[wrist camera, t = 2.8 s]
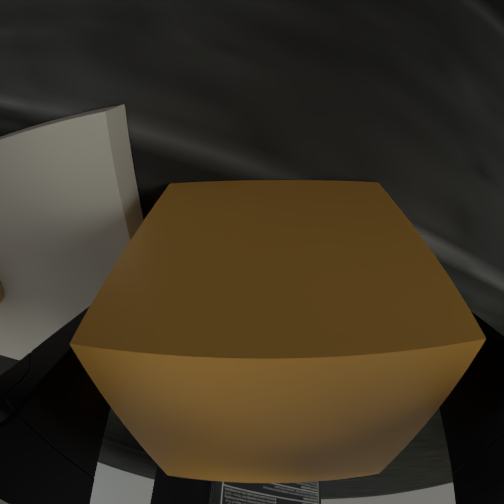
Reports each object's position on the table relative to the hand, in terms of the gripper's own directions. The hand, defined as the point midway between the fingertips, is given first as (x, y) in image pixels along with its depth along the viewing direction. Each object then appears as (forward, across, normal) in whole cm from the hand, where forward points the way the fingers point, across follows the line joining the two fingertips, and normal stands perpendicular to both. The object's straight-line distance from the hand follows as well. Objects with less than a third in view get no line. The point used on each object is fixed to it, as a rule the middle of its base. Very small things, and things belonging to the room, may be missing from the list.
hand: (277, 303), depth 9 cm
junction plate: (+2, +12, 0) cm, 12 cm away
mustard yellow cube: (+2, 0, 0) cm, 2 cm away
